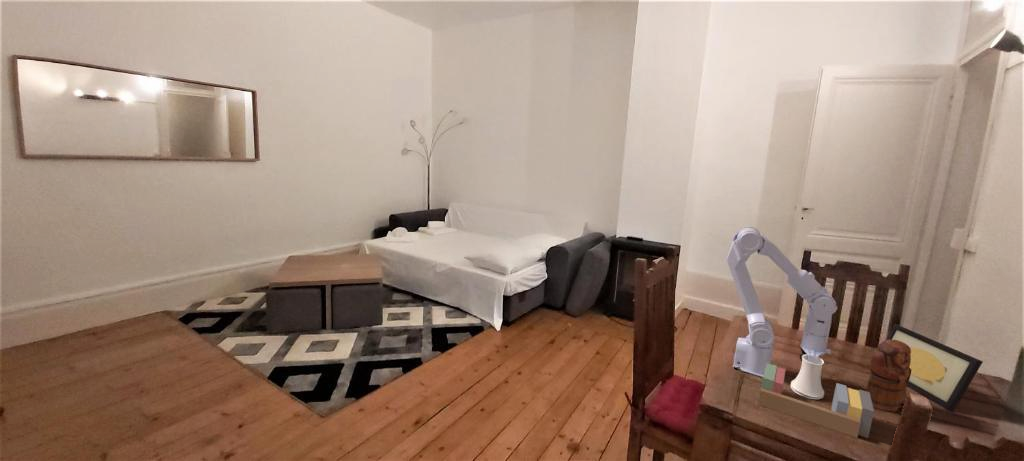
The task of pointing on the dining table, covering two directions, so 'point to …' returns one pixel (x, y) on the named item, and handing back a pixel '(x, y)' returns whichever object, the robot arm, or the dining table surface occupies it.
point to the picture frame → (936, 367)
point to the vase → (809, 379)
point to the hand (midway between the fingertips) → (807, 375)
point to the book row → (847, 408)
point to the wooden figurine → (889, 375)
